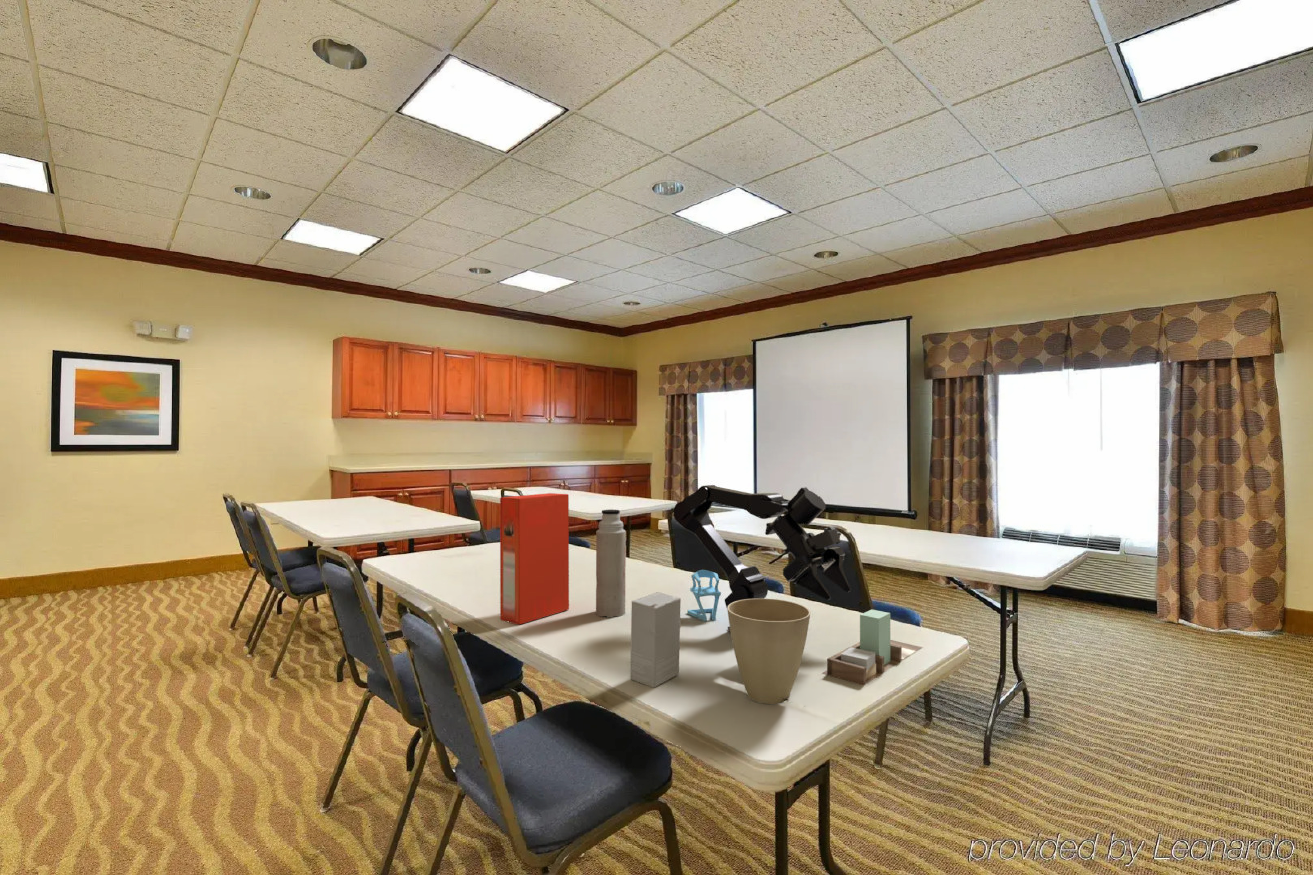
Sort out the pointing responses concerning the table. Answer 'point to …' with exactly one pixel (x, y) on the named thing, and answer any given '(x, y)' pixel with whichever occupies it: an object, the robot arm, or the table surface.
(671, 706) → the table surface
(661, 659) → the skincare box
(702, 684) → the table surface
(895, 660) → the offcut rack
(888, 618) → the mint green block
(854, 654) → the grey offcut slab
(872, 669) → the birch offcut slab
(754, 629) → the plant pot
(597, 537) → the thermos bottle
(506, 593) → the file binder
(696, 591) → the chair
